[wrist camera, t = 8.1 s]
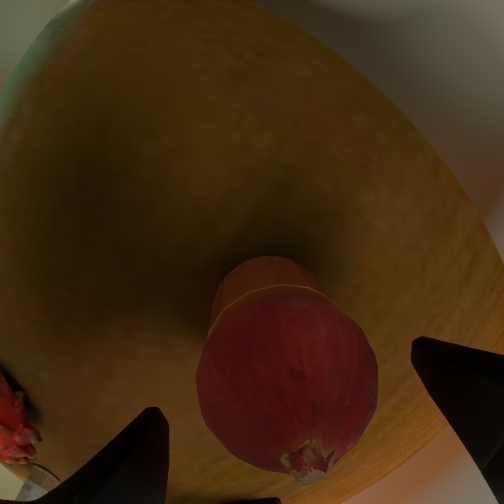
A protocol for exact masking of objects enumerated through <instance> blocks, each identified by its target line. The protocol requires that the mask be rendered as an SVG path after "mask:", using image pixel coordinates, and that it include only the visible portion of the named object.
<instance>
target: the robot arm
mask: <svg viewBox="0 0 504 504" xmlns="http://www.w3.org/2000/svg"><path fill="white" fill-rule="evenodd" d="M411 362H412V364H413V366H414V368H415V370H416V372H417V373H418V375H419V377H420V379H421V381H422V382H423V384H424V386H425V388H426V390H427V391H428V393H429V395H430V396H431V398H432V399H433V401H434V402H435V403H436V405H437V406H438V408H439V409H440V410H441V412H442V413H443V415H444V416H445V418H446V419H447V421H448V422H449V424H450V425H451V427H452V428H453V429H454V431H455V432H456V434H457V435H458V437H459V438H460V440H461V442H462V443H463V444H464V446H465V448H466V449H467V451H468V452H469V454H470V455H471V457H472V459H473V460H474V462H475V463H476V465H477V467H478V468H479V470H480V471H481V474H482V475H483V477H484V479H485V480H486V482H487V484H488V486H489V487H490V489H491V491H492V493H493V494H494V496H495V498H496V500H497V502H498V503H499V504H504V355H501V354H496V353H492V352H487V351H483V350H478V349H474V348H470V347H466V346H461V345H457V344H453V343H449V342H445V341H441V340H437V339H433V338H429V337H425V336H421V337H419V338H417V339H415V340H413V342H412V350H411ZM168 470H169V424H168V421H167V420H166V418H165V417H164V415H163V413H162V412H161V410H160V409H159V408H158V407H147V408H146V409H144V410H143V411H142V412H141V413H140V414H139V415H138V416H137V417H136V418H135V419H134V420H133V421H132V422H131V423H130V424H129V425H128V426H127V427H125V428H124V429H123V430H122V431H121V432H120V433H119V434H118V435H117V436H116V437H115V438H114V439H113V440H112V441H110V442H109V443H108V444H107V445H106V446H105V447H104V448H103V449H102V450H101V451H99V452H98V453H97V454H96V455H95V456H94V457H93V458H92V459H91V460H89V461H88V462H87V464H85V465H84V466H83V467H81V468H80V469H79V470H78V471H77V472H76V473H74V474H73V475H72V476H71V477H69V478H68V479H67V480H65V481H64V482H63V483H61V484H60V485H58V486H57V487H55V488H54V489H52V490H51V491H49V492H48V493H46V494H45V495H43V496H42V497H40V498H38V499H36V500H32V501H12V500H1V499H0V504H165V501H166V490H167V480H168ZM236 504H281V502H280V500H279V499H277V498H274V499H268V500H261V501H254V502H246V503H236Z"/></svg>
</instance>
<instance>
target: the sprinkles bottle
mask: <svg viewBox="0 0 504 504" xmlns="http://www.w3.org/2000/svg"><path fill="white" fill-rule="evenodd" d="M58 485H59V481H58V479H57V478H56V477H55V476H54V475H52V474H51V473H50V472H48V471H47V470H46V469H44V468H42V467H40V466H38V465H33V467H32V470H31V472H30V474H29V476H28V478H27V479H26V480H25V482H24V484H23V486H22V488H21V490H20V492H19V494H18V496H17V498H16V500H15V501H32V500H36V499H38V498H40V497H42V496H43V495H45V494H46V493H48V492H49V491H51V490H52V489H54V488H55V487H57V486H58Z"/></svg>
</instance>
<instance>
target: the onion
mask: <svg viewBox="0 0 504 504" xmlns="http://www.w3.org/2000/svg"><path fill="white" fill-rule="evenodd" d="M196 384H197V392H198V397H199V403H200V408H201V413H202V416H203V418H204V420H205V423H206V425H207V426H208V428H209V429H210V430H211V431H212V432H213V433H214V435H215V436H216V437H217V438H218V439H219V440H220V442H221V443H222V444H223V445H224V446H225V447H226V448H227V450H228V451H229V452H230V453H231V454H233V455H234V456H236V457H237V458H239V459H241V460H243V461H245V462H247V463H249V464H252V465H254V466H256V467H258V468H261V469H264V470H267V471H274V472H281V473H289V474H291V475H292V476H293V477H294V479H295V481H296V483H297V485H308V484H311V483H313V482H316V481H317V480H319V479H321V478H323V477H324V476H326V474H327V472H328V469H329V468H330V467H331V466H332V465H333V464H335V463H336V462H337V461H338V460H339V459H340V458H341V457H342V456H343V455H345V454H346V453H347V452H348V451H350V450H351V449H352V448H353V447H354V446H355V445H356V443H357V442H358V441H359V439H360V437H361V436H362V434H363V432H364V430H365V429H366V427H367V425H368V423H369V421H370V419H371V418H372V416H373V414H374V411H375V409H376V406H377V393H378V366H377V362H376V357H375V355H374V353H373V351H372V349H371V347H370V345H369V343H368V341H367V339H366V337H365V335H364V333H363V331H362V329H361V328H360V327H359V326H358V325H357V324H356V323H355V322H354V321H352V320H351V319H350V318H349V317H347V316H346V315H345V314H343V313H342V312H341V311H339V310H338V309H337V308H335V307H334V306H333V305H332V304H330V303H328V302H323V301H319V300H314V299H310V298H306V297H302V296H299V295H295V294H283V295H276V296H268V297H259V298H257V299H255V300H253V301H251V302H249V303H247V304H245V305H243V306H241V307H239V308H237V309H235V310H233V311H231V312H229V314H228V315H227V316H226V317H225V318H224V320H223V321H222V322H221V323H220V324H219V326H218V327H217V328H216V329H215V330H214V332H213V333H212V334H211V335H210V336H209V338H208V340H207V342H206V344H205V346H204V348H203V352H202V355H201V359H200V362H199V366H198V369H197V373H196Z"/></svg>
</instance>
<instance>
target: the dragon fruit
mask: <svg viewBox="0 0 504 504" xmlns="http://www.w3.org/2000/svg"><path fill="white" fill-rule="evenodd" d="M15 394H16V395H15ZM15 394H14V392H13V390H12V389H11V387H10V386H9V385H8V383H7V382H6V380H5V378H4V376H3V374H2V372H1V369H0V457H1V458H2V460H3V461H5V462H6V463H7V464H9V465H13V464H15V463H18V464H23V465H25V464H27V463H28V462H29V459H31V460H36V449H35V447H34V446H33V445H32V444H31V443H36V442H41V441H42V438H41V436H40V433H39V431H38V430H37V429H36V428H35V427H34V426H32V425H31V424H29V423H28V418H27V413H28V408H27V407H25V406H24V398H23V396H25V395H24V393H23V392H21V391H16V392H15Z"/></svg>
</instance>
